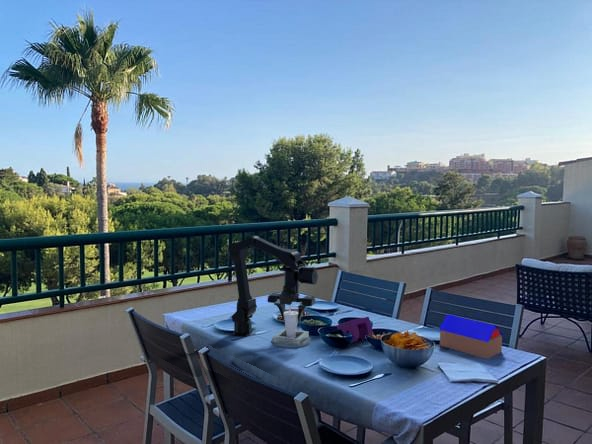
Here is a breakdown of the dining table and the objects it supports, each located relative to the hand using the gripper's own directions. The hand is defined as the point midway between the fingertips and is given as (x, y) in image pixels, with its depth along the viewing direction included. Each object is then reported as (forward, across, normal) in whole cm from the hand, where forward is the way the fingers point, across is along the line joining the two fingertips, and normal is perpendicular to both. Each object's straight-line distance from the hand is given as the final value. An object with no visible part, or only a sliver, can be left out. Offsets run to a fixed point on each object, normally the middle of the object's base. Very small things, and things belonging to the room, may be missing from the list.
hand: (291, 320), depth 186 cm
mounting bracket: (+9, +21, +14) cm, 27 cm away
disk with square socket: (+9, 0, 0) cm, 9 cm away
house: (+9, +68, +15) cm, 71 cm away
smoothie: (+7, 0, 0) cm, 7 cm away
